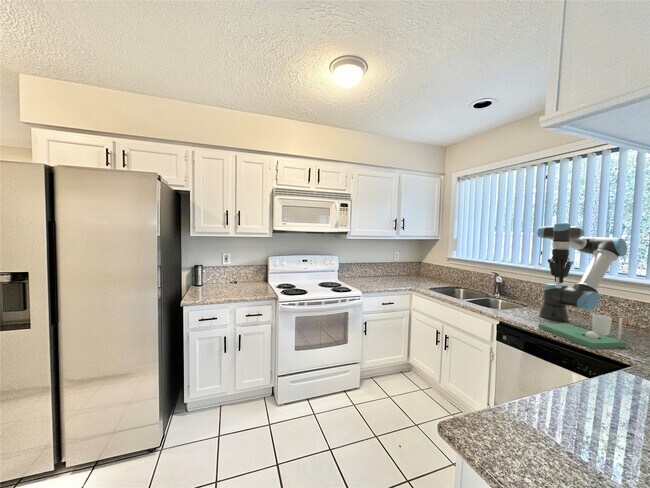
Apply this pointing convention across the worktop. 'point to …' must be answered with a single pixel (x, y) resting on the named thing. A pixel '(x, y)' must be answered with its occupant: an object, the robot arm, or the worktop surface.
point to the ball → (592, 335)
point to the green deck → (579, 335)
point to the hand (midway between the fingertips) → (558, 287)
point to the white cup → (601, 324)
